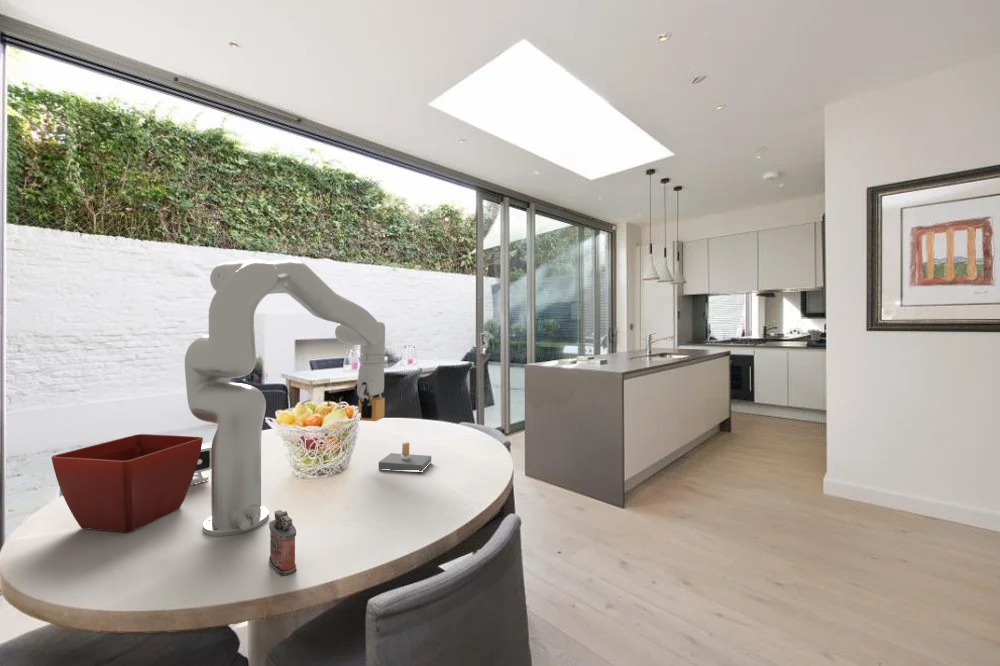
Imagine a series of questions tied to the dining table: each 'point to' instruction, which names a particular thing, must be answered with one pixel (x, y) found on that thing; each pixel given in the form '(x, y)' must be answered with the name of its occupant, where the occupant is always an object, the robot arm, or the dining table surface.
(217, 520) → the robot arm
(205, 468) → the security camera
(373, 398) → the wooden cube
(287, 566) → the lighter
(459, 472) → the dining table surface
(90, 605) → the dining table surface
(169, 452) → the plant pot
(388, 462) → the grey platform with peg
